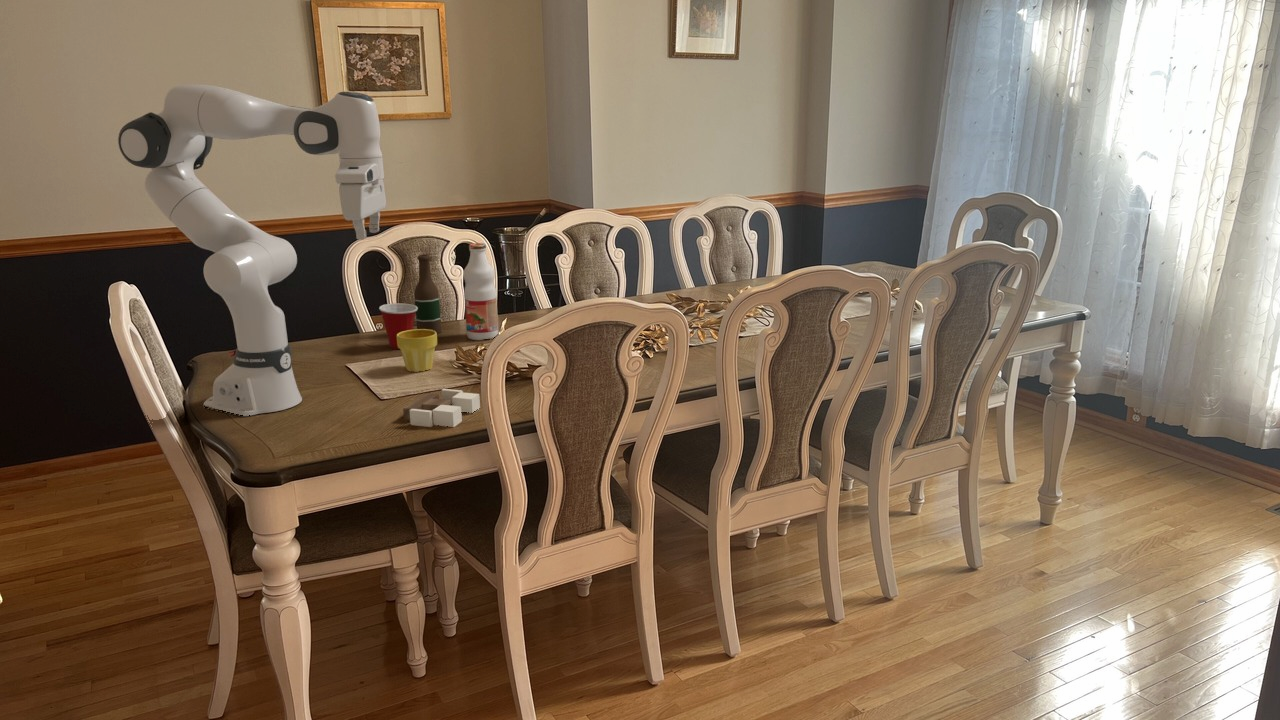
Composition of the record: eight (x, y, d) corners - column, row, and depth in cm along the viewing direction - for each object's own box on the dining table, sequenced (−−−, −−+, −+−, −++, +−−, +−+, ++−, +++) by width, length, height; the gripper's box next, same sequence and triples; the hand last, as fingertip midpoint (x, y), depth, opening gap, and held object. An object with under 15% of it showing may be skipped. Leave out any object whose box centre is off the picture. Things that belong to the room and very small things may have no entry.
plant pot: (422, 360, 256) (420, 326, 253) (447, 367, 249) (444, 332, 247) (391, 369, 248) (388, 334, 245) (415, 376, 242) (412, 340, 239)
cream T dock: (410, 424, 208) (409, 410, 207) (444, 402, 222) (443, 388, 221) (451, 429, 205) (449, 414, 204) (482, 406, 219) (481, 392, 218)
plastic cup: (415, 351, 264) (412, 310, 261) (377, 351, 265) (374, 310, 261) (425, 341, 275) (422, 302, 271) (388, 341, 275) (385, 302, 272)
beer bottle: (412, 335, 281) (405, 257, 274) (422, 329, 289) (416, 252, 282) (436, 336, 280) (430, 257, 273) (446, 330, 287) (440, 253, 280)
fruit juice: (503, 338, 278) (498, 245, 270) (473, 342, 273) (467, 248, 265) (492, 331, 285) (486, 240, 277) (462, 335, 281) (456, 243, 273)
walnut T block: (404, 420, 210) (402, 408, 210) (428, 405, 221) (427, 393, 220) (435, 423, 208) (434, 410, 207) (458, 407, 218) (457, 395, 217)
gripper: (362, 166, 208) (367, 228, 212) (332, 175, 189) (339, 243, 193) (390, 166, 208) (395, 228, 212) (363, 175, 189) (369, 243, 193)
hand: (368, 235), depth 202 cm, fingers open, 8 cm apart
